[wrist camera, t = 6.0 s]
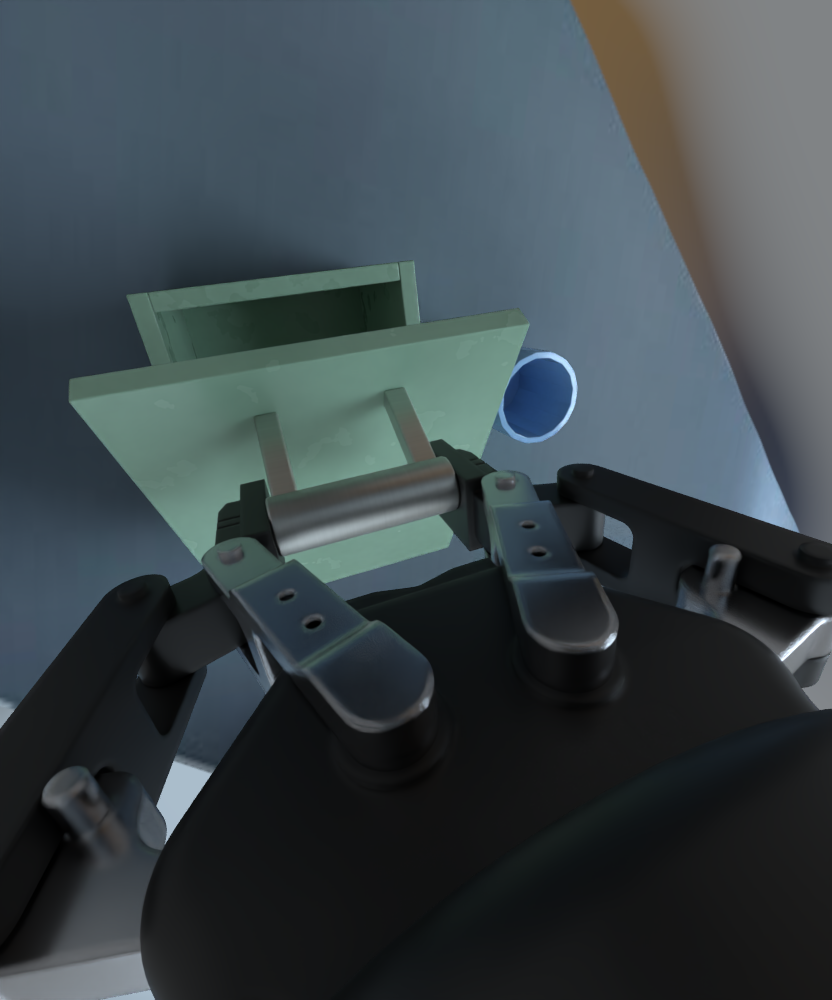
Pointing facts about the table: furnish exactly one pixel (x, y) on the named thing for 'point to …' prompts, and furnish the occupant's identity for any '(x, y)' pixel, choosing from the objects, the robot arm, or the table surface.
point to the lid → (314, 435)
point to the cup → (537, 397)
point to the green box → (274, 311)
